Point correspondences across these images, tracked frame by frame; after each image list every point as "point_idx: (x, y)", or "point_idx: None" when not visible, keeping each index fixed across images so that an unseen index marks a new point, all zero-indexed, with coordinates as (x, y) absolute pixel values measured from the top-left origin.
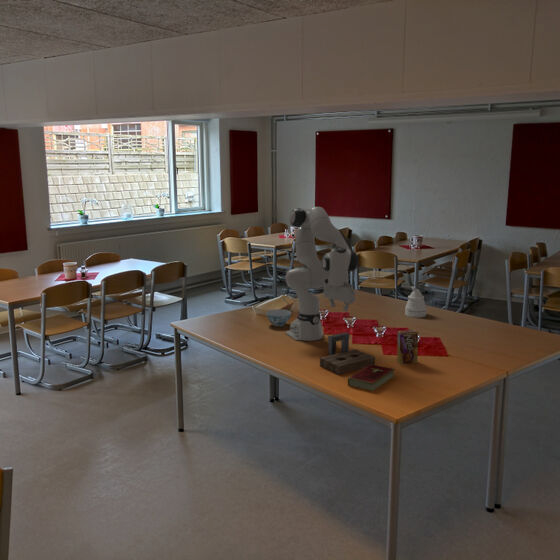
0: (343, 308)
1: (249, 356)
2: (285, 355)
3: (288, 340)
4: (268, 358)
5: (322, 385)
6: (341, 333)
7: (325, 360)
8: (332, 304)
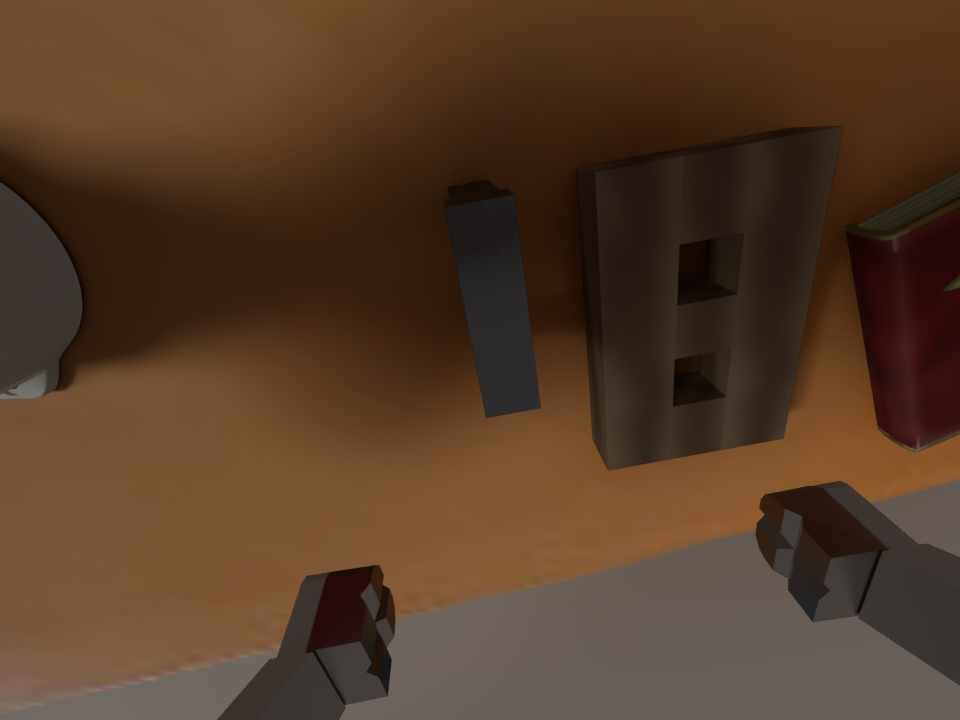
0: (810, 590)
1: None
2: (358, 523)
3: (48, 430)
4: None
5: None
6: (464, 270)
7: (660, 460)
8: (384, 685)
